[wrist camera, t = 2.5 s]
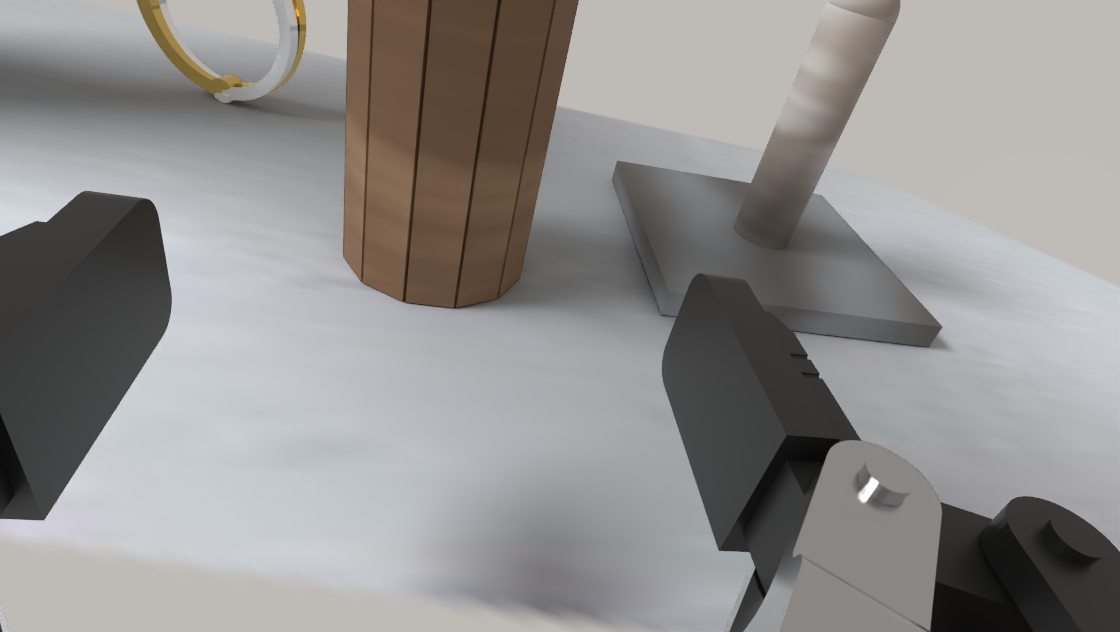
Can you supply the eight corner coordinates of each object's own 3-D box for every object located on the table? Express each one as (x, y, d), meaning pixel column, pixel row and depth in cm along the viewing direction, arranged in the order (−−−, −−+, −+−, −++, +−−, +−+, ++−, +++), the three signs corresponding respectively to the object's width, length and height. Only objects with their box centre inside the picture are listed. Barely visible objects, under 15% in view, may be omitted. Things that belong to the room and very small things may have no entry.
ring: (317, 112, 30) (316, -81, 26) (275, 132, 28) (265, -80, 23) (186, 71, 31) (162, -126, 26) (133, 86, 28) (96, -129, 24)
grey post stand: (661, 314, 23) (794, -36, 16) (611, 179, 31) (685, -83, 25) (928, 347, 25) (1139, 49, 18) (813, 212, 34) (928, -22, 27)
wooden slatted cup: (330, 293, 20) (332, -80, 14) (360, 203, 24) (371, -103, 19) (523, 316, 21) (598, -20, 15) (515, 225, 26) (570, -56, 20)
